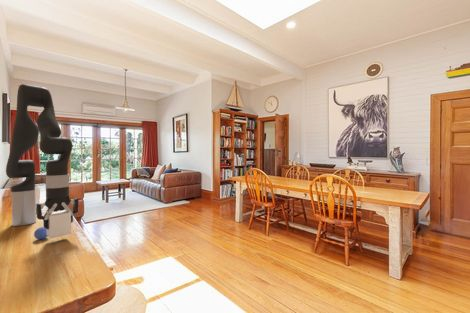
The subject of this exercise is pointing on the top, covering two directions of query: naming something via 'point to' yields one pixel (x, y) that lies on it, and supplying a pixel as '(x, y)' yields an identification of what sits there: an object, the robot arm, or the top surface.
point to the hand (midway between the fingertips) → (58, 226)
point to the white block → (59, 224)
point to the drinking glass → (37, 195)
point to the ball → (40, 233)
